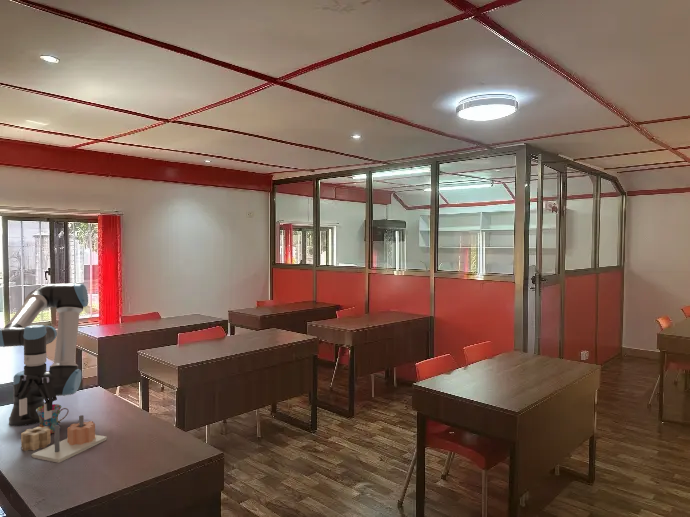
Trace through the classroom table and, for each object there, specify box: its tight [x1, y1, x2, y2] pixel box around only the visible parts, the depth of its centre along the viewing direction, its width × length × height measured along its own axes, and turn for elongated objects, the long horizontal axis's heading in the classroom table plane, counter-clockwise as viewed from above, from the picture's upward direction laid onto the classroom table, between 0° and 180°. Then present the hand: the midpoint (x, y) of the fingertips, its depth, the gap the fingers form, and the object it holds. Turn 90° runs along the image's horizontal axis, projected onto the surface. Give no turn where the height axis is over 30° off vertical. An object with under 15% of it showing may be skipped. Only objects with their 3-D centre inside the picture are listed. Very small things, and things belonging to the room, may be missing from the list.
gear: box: [20, 426, 52, 452], centre depth 186 cm, size 10×10×6 cm
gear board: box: [31, 414, 108, 464], centre depth 184 cm, size 14×22×11 cm, turn 162°
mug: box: [36, 403, 69, 435], centre depth 201 cm, size 12×9×11 cm
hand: (35, 416), depth 186 cm, fingers open, 13 cm apart
